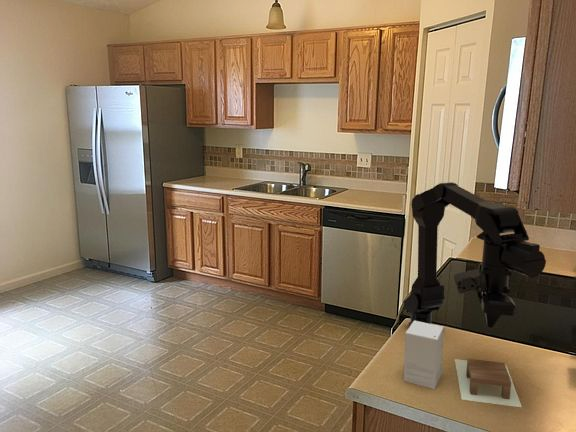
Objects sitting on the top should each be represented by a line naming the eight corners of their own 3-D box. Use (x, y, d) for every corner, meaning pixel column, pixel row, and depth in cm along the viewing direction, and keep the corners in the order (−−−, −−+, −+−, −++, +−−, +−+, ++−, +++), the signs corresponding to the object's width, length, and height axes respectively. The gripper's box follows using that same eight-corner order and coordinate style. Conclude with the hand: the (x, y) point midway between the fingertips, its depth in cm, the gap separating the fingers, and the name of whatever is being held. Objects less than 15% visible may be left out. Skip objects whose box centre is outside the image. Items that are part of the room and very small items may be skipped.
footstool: (467, 358, 109) (471, 377, 102) (504, 362, 108) (511, 382, 100) (466, 374, 110) (470, 394, 103) (502, 378, 108) (509, 399, 101)
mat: (454, 360, 117) (454, 359, 117) (506, 365, 114) (506, 364, 114) (461, 400, 101) (461, 399, 101) (521, 408, 98) (521, 407, 98)
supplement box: (442, 374, 111) (445, 326, 108) (434, 390, 105) (438, 339, 102) (411, 366, 115) (413, 319, 112) (402, 381, 109) (404, 332, 106)
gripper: (454, 247, 114) (449, 306, 118) (461, 274, 97) (456, 342, 100) (503, 250, 111) (497, 311, 115) (520, 278, 94) (512, 348, 98)
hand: (489, 326), depth 107 cm, fingers closed
